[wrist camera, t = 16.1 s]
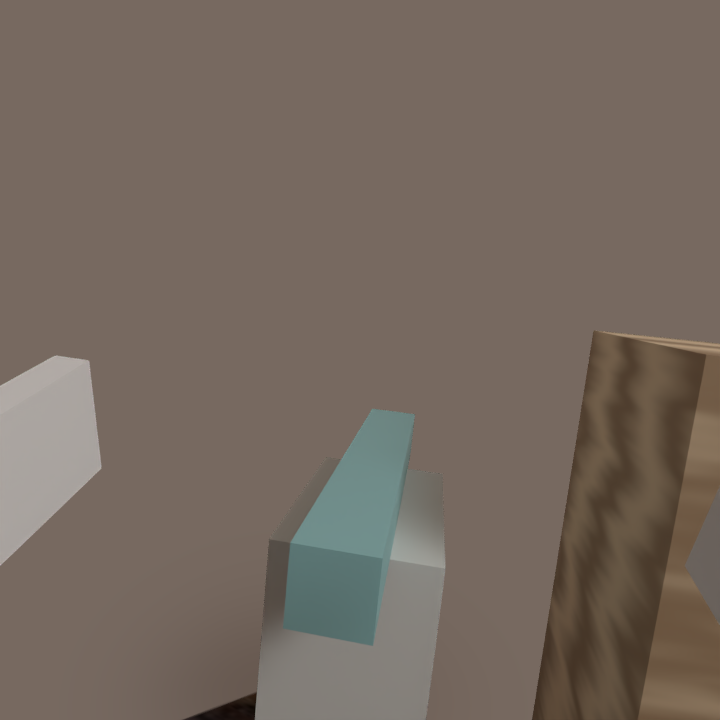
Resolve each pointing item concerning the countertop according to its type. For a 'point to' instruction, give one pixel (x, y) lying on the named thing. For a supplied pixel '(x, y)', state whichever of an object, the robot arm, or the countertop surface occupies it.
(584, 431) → the oak block
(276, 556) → the step block
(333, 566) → the teal block
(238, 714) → the countertop surface
